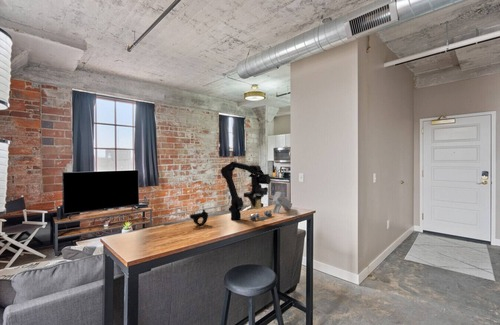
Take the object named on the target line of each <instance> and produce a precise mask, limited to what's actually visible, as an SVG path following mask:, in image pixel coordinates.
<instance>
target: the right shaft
mask: <svg viewBox="0 0 500 325" xmlns="http://www.w3.org/2000/svg"><path fill="white" fill-rule="evenodd" d="M263 213H264V216H265V217H269V218H271V217H272V216H273V210H272V209H269V210H265V211H264V212H263Z"/></svg>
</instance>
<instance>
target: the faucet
mask: <svg viewBox="0 0 500 325" xmlns="http://www.w3.org/2000/svg"><path fill="white" fill-rule="evenodd" d="M272 202H273V203H275V204H274V207H273V210H272V214H273V213H274V214H279V213H280V210H281V208H283V209H284V210H287V211H289V210H290V211H291V208H292V206H293V203H292V202H291V201H290V200H289V199H288V198H287V197H286V196H285V195H284V193H283V192H282V191H275V192H274V195H273V198H272Z"/></svg>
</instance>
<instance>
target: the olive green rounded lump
mask: <svg viewBox="0 0 500 325" xmlns="http://www.w3.org/2000/svg"><path fill="white" fill-rule="evenodd" d="M250 209H253V210H254V209H255V210H258V209H262V198H261V199H258V198H256V199H255V207H253V205H252V203H251V202H250Z"/></svg>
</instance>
